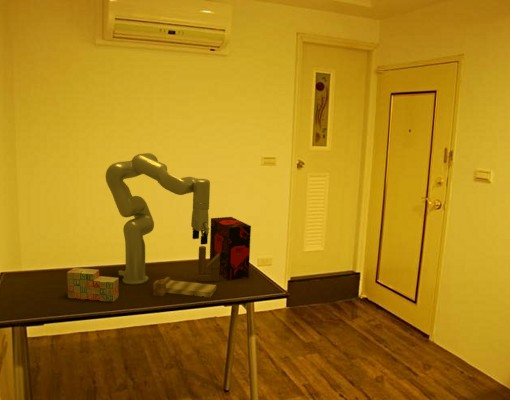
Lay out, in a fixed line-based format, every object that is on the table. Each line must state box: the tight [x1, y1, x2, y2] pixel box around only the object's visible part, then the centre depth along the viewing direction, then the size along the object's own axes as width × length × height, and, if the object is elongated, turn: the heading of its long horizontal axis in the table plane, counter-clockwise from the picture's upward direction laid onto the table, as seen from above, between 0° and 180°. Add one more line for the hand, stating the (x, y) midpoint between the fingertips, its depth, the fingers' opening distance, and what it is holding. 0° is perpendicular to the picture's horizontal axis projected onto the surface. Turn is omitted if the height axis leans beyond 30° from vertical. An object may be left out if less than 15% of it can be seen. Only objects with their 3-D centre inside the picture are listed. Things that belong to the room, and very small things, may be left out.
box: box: [209, 216, 252, 281], centre depth 240 cm, size 23×12×28 cm, turn 29°
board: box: [160, 278, 217, 298], centre depth 213 cm, size 28×10×2 cm, turn 81°
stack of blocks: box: [66, 267, 120, 303], centre depth 199 cm, size 21×6×12 cm, turn 82°
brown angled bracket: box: [197, 245, 220, 283], centre depth 226 cm, size 4×11×18 cm, turn 103°
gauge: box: [152, 276, 172, 297], centre depth 212 cm, size 4×14×6 cm, turn 171°
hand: (199, 241), depth 209 cm, fingers open, 9 cm apart
